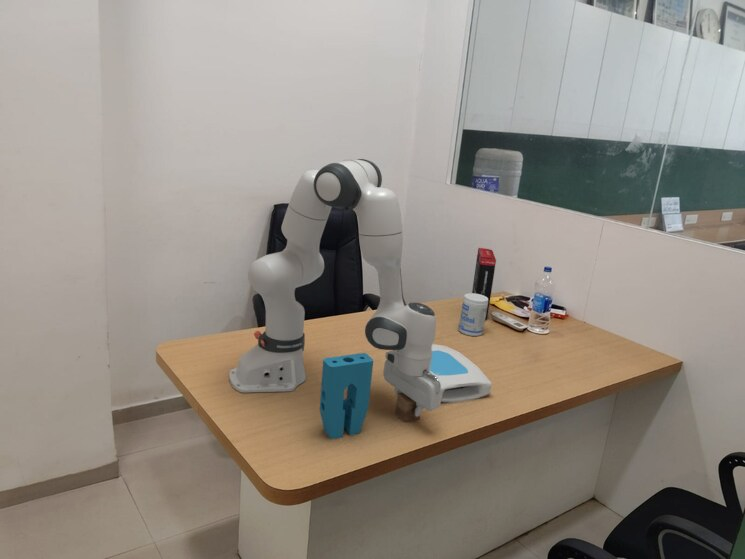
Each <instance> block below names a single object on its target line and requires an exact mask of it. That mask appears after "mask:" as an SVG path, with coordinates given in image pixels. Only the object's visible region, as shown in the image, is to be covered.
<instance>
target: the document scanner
mask: <svg viewBox="0 0 745 559" xmlns="http://www.w3.org/2000/svg"><path fill="white" fill-rule="evenodd" d="M430 373H431V374H432V375H435V376H436V377H437V378H438V380H439V382H440V384H441V403H444V404H446V403H448V404H449V403H450V404H453V403H459V402H465V401H473V400H478V399H479V398H482V397H484V396H488V395H489V394H491V390H492V385H493V384H492V382H491V380H490V379H489V378H488V377H487V376H486V374H485V373H484V372H483V370H482V369H480V367H479V366H477V365H476V364H475V363H474V362H472V361H471V360H470V359H469V358H467V357H466V356H465V355H463V353H461V352H459V351H458V350H455V349H453V348H451V347H450V346H447V345H442V344H441V345H440V344H436V343H433V345H432V360H431V367H430ZM461 387H463V388H461Z"/></svg>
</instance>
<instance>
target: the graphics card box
mask: <svg viewBox="0 0 745 559" xmlns="http://www.w3.org/2000/svg"><path fill="white" fill-rule="evenodd" d="M493 251H494V250H493V249H491V248H486V247H485V248H483V247H478V248H477V255H476V261H475V262H476V263H475V268H474V277H473V284H472V291H471V293H475V294H480V295H483V296H486V297H487V298H488V306H487V312H486V317H485V321H487V320H488V316H489V310H490V303H491V298H492V290H493V282H494V278H495V270H496V264H497V258H496V256H495V254H494V252H493Z"/></svg>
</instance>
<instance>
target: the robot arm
mask: <svg viewBox="0 0 745 559" xmlns="http://www.w3.org/2000/svg"><path fill="white" fill-rule="evenodd" d="M382 183H383V176H382V173H381V170H380V168H379V166H377V164H376V163H374V162H373V161H371V160H368V159H364V158H357V159H354V158H353V159H344V160H342V161H338V162H331V163H328V164H326V165H325V166H323V167H322V168H320V169H308V170H306V171H304V173H303V174H302V175H301V177H300V178H299V180H298V181H297V184H296V185H295V187H294V189H293V192H292V194H291V197H290V200H289V202H288V206H287V208H286V210H285V214H284V218H283V220H282V224H281V228H280V229H281V233H282V234H283V236H284V238H285V239H286V246H285V248H284V249H283V250H282V251H278V252H273V253H269V254H266V255H263V256H262V257H259V258H257V259H256V260H254V261H253V262H252V263H251V264H250V266H249V268H248V273H247V274H248V275H247V278H248V281H249V284H250V286H251V288H252V289H253V290H254V291H255V292H256V293H258V294H259V296H261V298H262V300H263V302H264V303H263V304H264V307H265V308H264V309H265V330H264V332H263V333H261V331H260V330H256V331H254V333H253V335H254V338H255V339H256V340H257V344H256V345H254V346H253V347H251V348H250V349H249V350H247V351H246V352H244V353H243V354H242V355H241V356H240V357H239V359H238V363H237V366H236V367H234V368H231V369H230V371H229V375H228V379H229V380H228V381H229V383H230V385H231V386H232V388H233V389H234V390H236V391H238V392H240V393H246V394H247V393H274V392H275V393H276V392H277V393H278V392H279V393H280V392H281V393H282V392H293V391H295V390H296V388H297V387H298V386H300V385H301V384H303V383H304V382H305V381H306V379H307V375H306V370H305V365H304V364H305V363H304V351H305V344H306V343H305V341H306V339H305V336H306V335H305V332H304V328H305V313H306V312H305V311H306V310H305V308H304V305H302V303H300V302H299V301H297V300H296V297H295V296H296V295H295V294H296V293H295V292H296V289H297V288H300V287H302V286H306V285H309V284H311V283H313V282H315V281H316V280H317V279H318V278H320V277H321V276H322V274H323V273H324V270H325V261H324V257H323V255H322V254H321V253H320V244H321V239H322V236H323V233H324V230H325V228H326V224H327V221H328V219H329V216H330V213H331V210H332V208H336V209H339V210H342V211H344V212H346V213H347V212H351V211H354V212H355V214H356V216H357V223H358V240H359V247H360V251H361V255H362V258H363V260H364V261H365V262H366V263H367V264H368V265H370V266H372V267H374V268H375V270H376V273H377V277H378V286H379V297H380V300H379V303H378V306H377V308H376V310H375V312H374V313H373V315H372V316H371V317H370V319H369V320H368V321H367V323H366V325H365V328H364V334H365V339H366V340H367V342H368V343H369V344H370V345H371V346H372V347H374V348H375V349H377V350H383V351H386V352H385V361H384V366H383V374H382V375H383V379H384V381H385V382H387V383H388V384H390V385H391V386H392V387H394V393H395V396H396V397H397V394H398V393H404V394H405V395H407V396H408V397H409V398H411V399H412V400H414V401H415V402H416V405H417V408H414V409H413V412H412V414H413V415H415V416H416V417H418V416H420V417H421V414H422V410H423V409H425V410H427V411H428V412H431V411H435V410H437V409H439V408H440V406H441V405H442V404H441V403H442V402H441V384H440V382H439V380H438V378H437V377H436V376H435V375H432V374H431V373H430V367H431V360H432V345H433V344H434V342H435V337H436V329H437V328H436V327H437V320H436V319H437V317H436V314H435V312H434V310H433V309H432V308H431V307H429V305H426V304H423V303H420V302H413V301H412V302H409V303H408V304H407V303H406V301H405V299H404V294H403V293H404V292H403V291H404V290H403V281H402V272H401V271H402V267H401V265H402V264H401V262H402V252H403V224H402V223H403V221H402V220H403V219H402V214H401V209H400V204H399V200H398V199H399V198H398V196H397V194H396V193H395V192H394V191H393V190H391V189H389V188H386V187H381V186H382ZM396 402H397V400H396Z"/></svg>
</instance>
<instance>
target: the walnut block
mask: <svg viewBox="0 0 745 559" xmlns="http://www.w3.org/2000/svg"><path fill="white" fill-rule="evenodd" d="M396 401H397V402H396V403H395V404H396V405H395V413H394V414H396V415H397V416H398V418H399V419H400V420H401V422H403V423H407V422H412V421H417V420H418V421H419V420H420V419H421V415H420V416H418V417H416V416H415V415H413V414H412V412H413V409H414V408H417V405H416V402H415V401H414V400H412V399H411V398H409V397H408V396H407V395H405V394H404V393H398V394H397V396H396Z"/></svg>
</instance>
